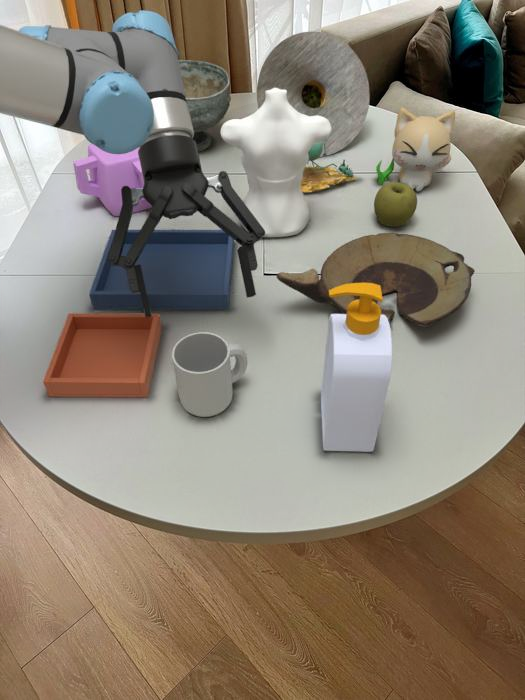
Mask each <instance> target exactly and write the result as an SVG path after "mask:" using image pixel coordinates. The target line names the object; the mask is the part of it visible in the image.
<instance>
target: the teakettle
mask: <svg viewBox="0 0 525 700" xmlns="http://www.w3.org/2000/svg"><path fill="white" fill-rule="evenodd" d="M87 148H88V149H87V157H84V158H80V159H77V160H74V161H73V170H74V176H75V182H76V188H77V190H78V192H80V194H83V195H87V196H91V197H92V196H93V197H97V198H98V199H99V201H100V202H101V203H102V205H103V206H104V207H105V208H106V209H107V211H108V212H109V213H110V214H112V216H114V217H119V215H120V212H121V208H122V194H121V189H122V187H123V186H128V187H130V188H143V186H144V179H143V174H142V169H141V165H140V160H139V155H138V150H139V149H140V148H137V149H136V150H134V151H131V152H129V153H125V154H111V153H107V152H105V151H103V150H101V149H100V148H98V147H97V146H95V145H94V144H92V143H89V144H88V147H87ZM87 170H88V172H89V176H88V172H87ZM89 178H90V179H89ZM152 208H153V206H152V205H151V204H150V203H148V202H147V201H146V200H145V199H144V198H141V199H140V200H139V203H138V205H137V206H134V207H133V212H132V214H135V213H138V212H143V211H145V210H148V209H152Z"/></svg>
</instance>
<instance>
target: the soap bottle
mask: <svg viewBox="0 0 525 700" xmlns="http://www.w3.org/2000/svg"><path fill="white" fill-rule="evenodd" d="M342 295H355V296H360V299H358V300H355V301H352V302H351V303H350V304H349V305H348V308H347V314H344V313H331V314H329V318H328V322H327V323H328V324H327V334H326V342H325V352H324V362H323V371H322V380H321V381H322V382H321V390H320V411H321V412H320V413H321V431H322V449H323V451H326V452H363V453H364V452H365V453H367V452H369V453H372V452H373V451H374V449H375V446H376V442H377V437H378V433H379V429H380V425H381V420H382V415H383V411H384V407H385V403H386V399H387V394H388V390H389V387H390V386H389V385H390V382H391V376H392V368H393V340H392V332H391V325H390V321H389V322H388V318H387V317H386V316H385V315H381V310H382V308H381V306H380V305H379V304H378V303H375V302H373V301H372V299H376V300H377V302H380V303H383V300H384V299H383V295H382V292H381V287H380V285H377V284H374V283H351V284H344V285H341V286H338V287H335V288H333V289H331V290H329V296H330V298H331V297H336V296H342Z"/></svg>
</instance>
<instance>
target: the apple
mask: <svg viewBox="0 0 525 700" xmlns="http://www.w3.org/2000/svg"><path fill="white" fill-rule="evenodd" d="M415 191H416V190H415V189H412V188H411V187H410V186H408V185H406V184H404V183H401V182H400V181H399V182H397V181H393V182H387V183H385V184H383V185H381V187H380V188H379V189H378V191H377V192H376V194H375V197H374V201H373V209H374V215H375V216H376V219H377V220H378V221H379V222H380V223H381V224H382V225H384V226H387V227H392V228H397V227H402V226H404V225H406V223H408V222H409V221H410V220H411V218H412V217H413V216H414V215H415V212H416V210H417V206H418V196H417V192H415Z"/></svg>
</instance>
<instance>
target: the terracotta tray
mask: <svg viewBox="0 0 525 700" xmlns="http://www.w3.org/2000/svg"><path fill="white" fill-rule="evenodd" d="M151 316H152V317H148V318H146V317H145V313H102V312H101V313H100V312H99V313H98V312H97V313H95V312H94V313H93V312H92V313H91V312H89V313H87V312H85V313H84V312H83V313H82V312H78V313H77V312H75V313H74V312H73V313H72V312H71V313H68V315H67V317H66V320H65V322H64V325H63V328H62V330H61V333H60V336H59V338H58V341H57V344H56V346H55V349H54V352H53V354H52V357H51V359H50V362H49V365H48V367H47V370H46V372H45V375H44V378H43V380H42V383H43V386H44V388H45V390H46V393H47V394H48V396H49V397H52V398H53V397H57V398H59V397H60V398H63V397H64V398H67V397H68V398H149V393H150V388H151V385H152V379H153V375H154V370H155V364H156V359H157V356H158V355H157V354H158V350H159V345H160V340H161V335H162V331H163V327H162V322H161V317H160V316H161V315H160V313H151Z"/></svg>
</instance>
